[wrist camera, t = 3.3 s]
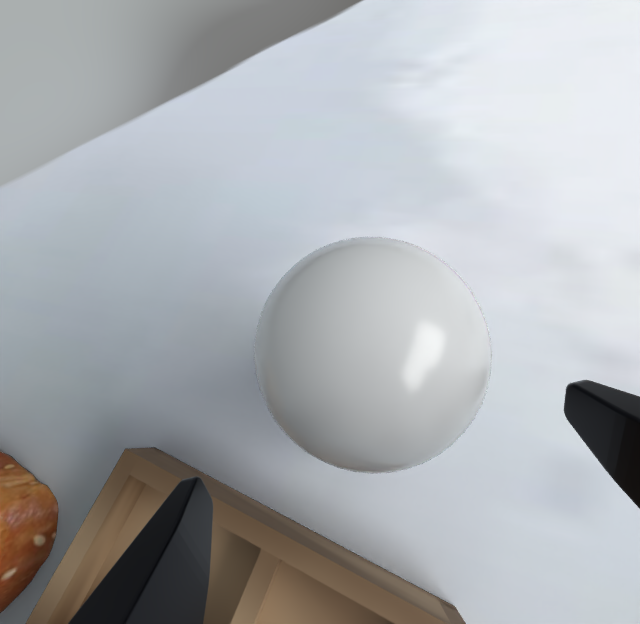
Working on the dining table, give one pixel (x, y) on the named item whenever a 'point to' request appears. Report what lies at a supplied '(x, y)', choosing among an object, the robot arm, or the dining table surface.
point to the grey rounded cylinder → (373, 355)
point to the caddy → (236, 559)
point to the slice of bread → (23, 527)
